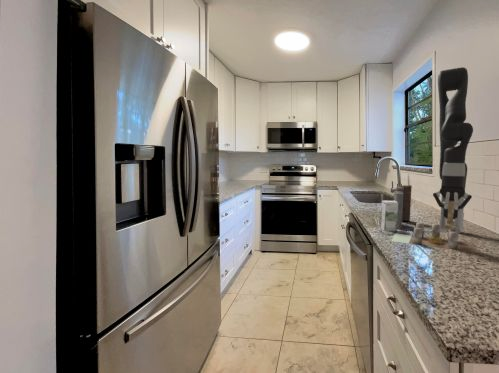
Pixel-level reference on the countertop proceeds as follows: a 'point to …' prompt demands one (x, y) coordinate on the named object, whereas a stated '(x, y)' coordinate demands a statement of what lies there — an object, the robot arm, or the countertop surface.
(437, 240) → the gold star hexagon
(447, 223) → the light wood t-shaped block
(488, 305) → the countertop surface
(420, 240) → the board
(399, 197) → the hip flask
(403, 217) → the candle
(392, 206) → the syrup box
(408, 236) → the green pad
